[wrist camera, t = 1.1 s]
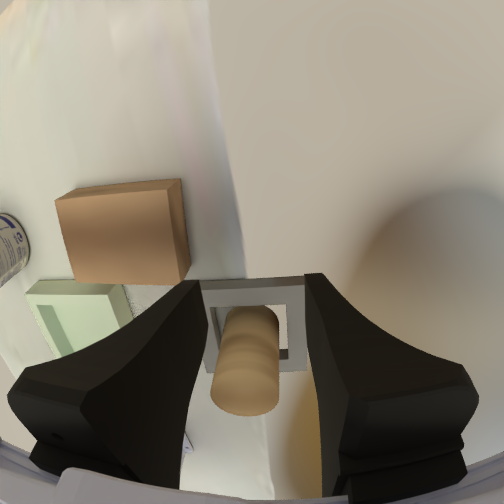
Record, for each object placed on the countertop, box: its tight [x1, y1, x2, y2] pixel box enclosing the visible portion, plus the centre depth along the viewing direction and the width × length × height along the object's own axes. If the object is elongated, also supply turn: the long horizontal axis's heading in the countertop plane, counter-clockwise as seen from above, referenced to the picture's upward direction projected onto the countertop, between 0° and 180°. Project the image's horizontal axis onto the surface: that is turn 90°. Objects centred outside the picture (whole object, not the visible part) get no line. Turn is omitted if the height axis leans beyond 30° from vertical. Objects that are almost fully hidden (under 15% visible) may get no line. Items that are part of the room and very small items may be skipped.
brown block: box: [55, 179, 191, 285], centre depth 20 cm, size 6×8×3 cm
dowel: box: [210, 305, 279, 416], centre depth 20 cm, size 4×4×7 cm
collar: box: [199, 276, 307, 373], centre depth 23 cm, size 8×8×1 cm
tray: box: [24, 280, 134, 359], centre depth 24 cm, size 9×9×2 cm
